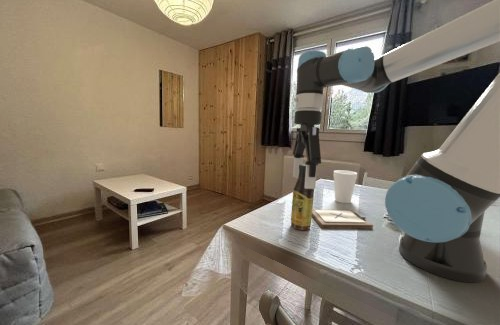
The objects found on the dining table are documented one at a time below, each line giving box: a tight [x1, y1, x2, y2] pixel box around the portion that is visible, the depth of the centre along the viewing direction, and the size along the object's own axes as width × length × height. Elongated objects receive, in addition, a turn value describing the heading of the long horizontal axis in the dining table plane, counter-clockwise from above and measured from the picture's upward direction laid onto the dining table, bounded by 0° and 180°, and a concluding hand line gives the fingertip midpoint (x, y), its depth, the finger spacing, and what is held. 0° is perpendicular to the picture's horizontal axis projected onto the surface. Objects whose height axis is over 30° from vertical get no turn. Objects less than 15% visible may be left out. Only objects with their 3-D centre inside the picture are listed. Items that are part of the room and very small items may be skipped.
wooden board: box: [312, 208, 374, 230], centre depth 72 cm, size 13×16×2 cm
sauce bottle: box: [290, 163, 315, 231], centre depth 64 cm, size 6×6×20 cm
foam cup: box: [332, 169, 358, 204], centre depth 92 cm, size 10×9×13 cm
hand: (302, 182), depth 64 cm, fingers open, 13 cm apart
